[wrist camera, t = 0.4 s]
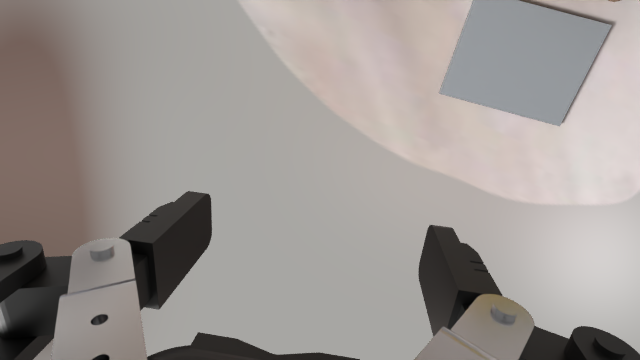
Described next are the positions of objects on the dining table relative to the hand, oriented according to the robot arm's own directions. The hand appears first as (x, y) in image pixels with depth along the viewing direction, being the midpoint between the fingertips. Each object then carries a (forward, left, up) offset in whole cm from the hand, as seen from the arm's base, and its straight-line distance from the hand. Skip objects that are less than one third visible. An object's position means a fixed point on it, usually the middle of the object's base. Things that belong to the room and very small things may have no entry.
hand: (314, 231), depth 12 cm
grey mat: (-10, +16, -28) cm, 33 cm away
